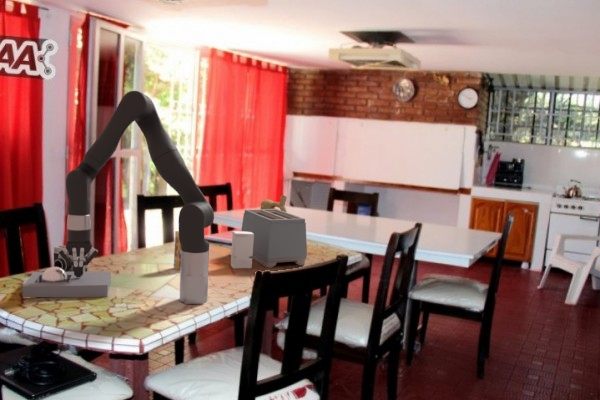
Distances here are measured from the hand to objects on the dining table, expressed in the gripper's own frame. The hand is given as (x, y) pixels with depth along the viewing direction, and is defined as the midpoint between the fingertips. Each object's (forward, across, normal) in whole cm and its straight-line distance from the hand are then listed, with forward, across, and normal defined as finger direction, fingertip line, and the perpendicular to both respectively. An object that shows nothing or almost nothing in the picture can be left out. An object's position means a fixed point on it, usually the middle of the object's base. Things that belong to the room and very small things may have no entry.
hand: (78, 276), depth 200 cm
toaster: (+5, +76, +45) cm, 89 cm away
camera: (+5, -7, +23) cm, 24 cm away
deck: (+4, -3, 0) cm, 5 cm away
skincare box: (+5, +61, +29) cm, 68 cm away
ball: (0, -8, 0) cm, 8 cm away
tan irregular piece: (+5, +84, +78) cm, 115 cm away
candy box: (+5, +38, +28) cm, 47 cm away
